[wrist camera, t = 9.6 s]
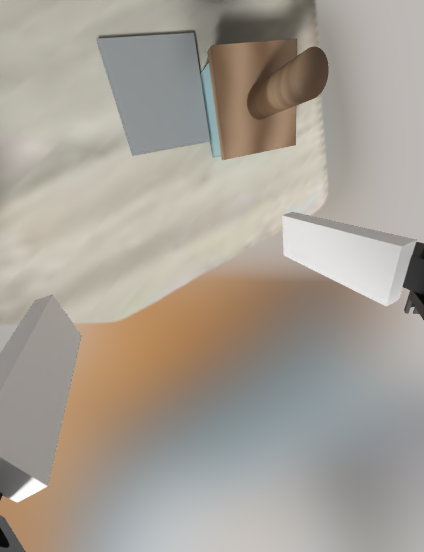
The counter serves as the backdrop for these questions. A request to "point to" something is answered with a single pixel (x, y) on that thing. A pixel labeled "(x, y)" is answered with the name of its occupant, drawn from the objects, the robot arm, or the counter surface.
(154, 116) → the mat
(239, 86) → the lid
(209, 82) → the dish
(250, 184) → the counter surface
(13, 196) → the counter surface
